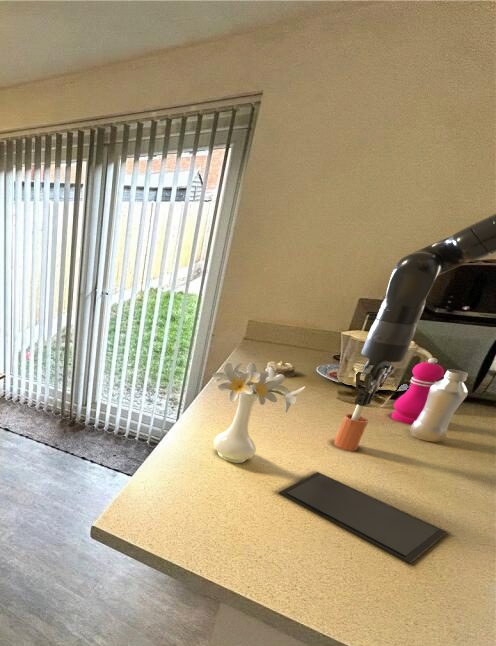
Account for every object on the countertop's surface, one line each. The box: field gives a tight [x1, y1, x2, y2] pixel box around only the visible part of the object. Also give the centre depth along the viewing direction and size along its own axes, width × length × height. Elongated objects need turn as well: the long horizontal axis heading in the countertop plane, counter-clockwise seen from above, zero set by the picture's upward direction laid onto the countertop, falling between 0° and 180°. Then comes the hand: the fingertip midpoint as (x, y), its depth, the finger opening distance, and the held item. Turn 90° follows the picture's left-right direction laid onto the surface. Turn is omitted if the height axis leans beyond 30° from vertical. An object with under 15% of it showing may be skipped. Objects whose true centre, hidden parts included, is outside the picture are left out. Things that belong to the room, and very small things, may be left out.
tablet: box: [278, 471, 448, 565], centre depth 82 cm, size 22×16×1 cm
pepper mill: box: [391, 357, 445, 425], centre depth 114 cm, size 7×7×20 cm
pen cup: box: [333, 413, 369, 452], centre depth 103 cm, size 5×5×9 cm
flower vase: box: [211, 362, 307, 464], centre depth 97 cm, size 13×18×25 cm
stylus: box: [351, 404, 365, 421], centre depth 101 cm, size 1×1×14 cm
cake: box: [264, 360, 296, 378], centre depth 153 cm, size 10×10×5 cm
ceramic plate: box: [316, 363, 408, 392], centre depth 144 cm, size 26×26×3 cm
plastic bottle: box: [409, 368, 469, 443], centre depth 104 cm, size 6×7×20 cm
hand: (362, 403), depth 100 cm, fingers closed on stylus, 1 cm apart
